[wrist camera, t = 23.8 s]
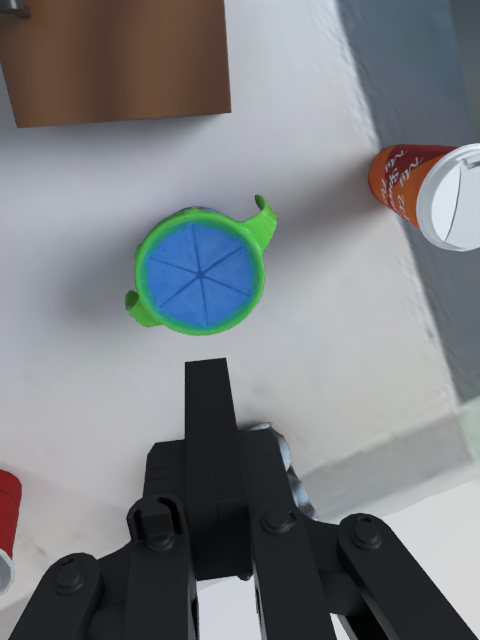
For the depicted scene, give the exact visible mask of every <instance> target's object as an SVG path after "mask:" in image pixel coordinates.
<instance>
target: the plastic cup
mask: <svg viewBox="0 0 480 640" xmlns="http://www.w3.org/2000/svg"><path fill="white" fill-rule="evenodd" d="M21 492H22V489H21V483H20V482H19V480H18V478H16V477H15V476H14V475H12V474H11V473H9V472H6V471H3V470H0V596H1V595H3V594H4V593H6V592H7V591H8V589H9V588H10V586H11V585H12V583H13V582H14V580H15V574H14V563H13V561H12V555H13V553H12V550H13V544H14V538H15V533H16V527H17V521H18V515H19V506H20V501H21V496H22V493H21Z"/></svg>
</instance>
